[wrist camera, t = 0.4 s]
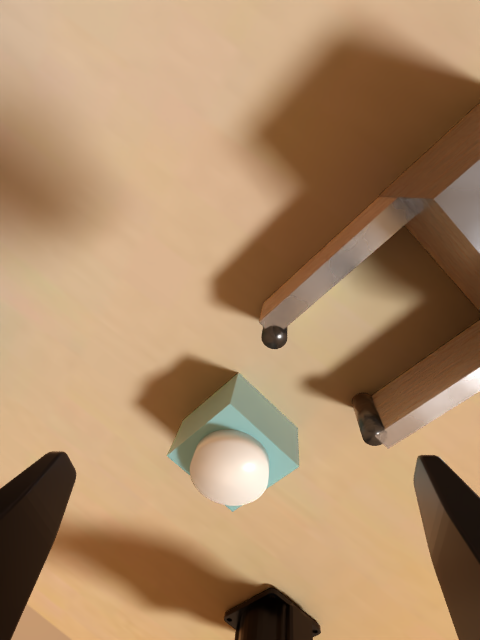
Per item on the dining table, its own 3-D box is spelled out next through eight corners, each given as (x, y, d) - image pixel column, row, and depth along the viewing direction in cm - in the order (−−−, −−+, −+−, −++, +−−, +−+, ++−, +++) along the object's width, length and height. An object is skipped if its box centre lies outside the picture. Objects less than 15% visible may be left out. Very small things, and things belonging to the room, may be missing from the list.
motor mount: (366, 419, 25) (407, 537, 16) (254, 309, 23) (236, 378, 15) (617, 249, 19) (873, 294, 11) (495, 87, 17) (688, -7, 9)
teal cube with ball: (240, 468, 28) (229, 527, 23) (183, 418, 27) (160, 469, 22) (297, 426, 26) (299, 481, 21) (238, 371, 25) (226, 415, 20)
